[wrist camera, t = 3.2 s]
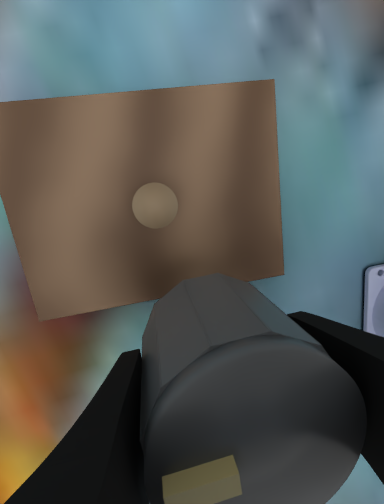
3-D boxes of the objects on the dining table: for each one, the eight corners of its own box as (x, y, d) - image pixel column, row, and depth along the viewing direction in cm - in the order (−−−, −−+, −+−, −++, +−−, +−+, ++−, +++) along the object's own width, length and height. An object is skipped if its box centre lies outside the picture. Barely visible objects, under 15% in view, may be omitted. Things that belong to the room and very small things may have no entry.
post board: (266, 86, 16) (319, 37, 11) (277, 270, 18) (322, 296, 14) (-15, 111, 14) (-105, 64, 9) (45, 314, 16) (2, 363, 12)
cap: (264, 262, 10) (386, 333, 5) (274, 373, 12) (378, 519, 6) (131, 290, 10) (114, 406, 4) (158, 405, 11) (169, 599, 6)
